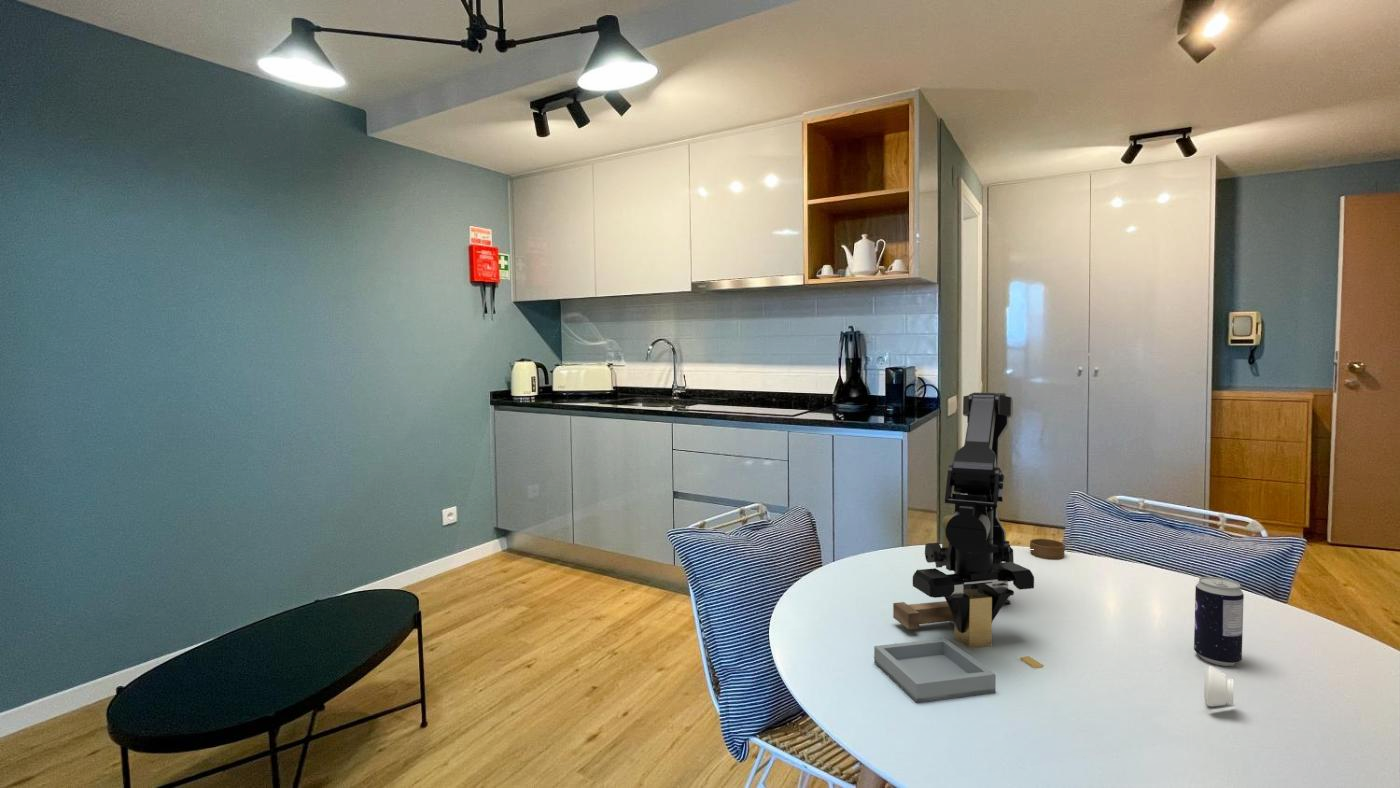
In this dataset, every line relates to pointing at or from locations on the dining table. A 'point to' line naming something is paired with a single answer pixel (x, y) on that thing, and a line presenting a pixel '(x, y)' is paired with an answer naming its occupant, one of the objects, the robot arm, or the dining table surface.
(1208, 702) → the white jar
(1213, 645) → the beverage can
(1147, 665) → the dining table surface
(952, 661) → the tray
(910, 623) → the crank
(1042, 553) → the brown round basket
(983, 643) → the wooden block
